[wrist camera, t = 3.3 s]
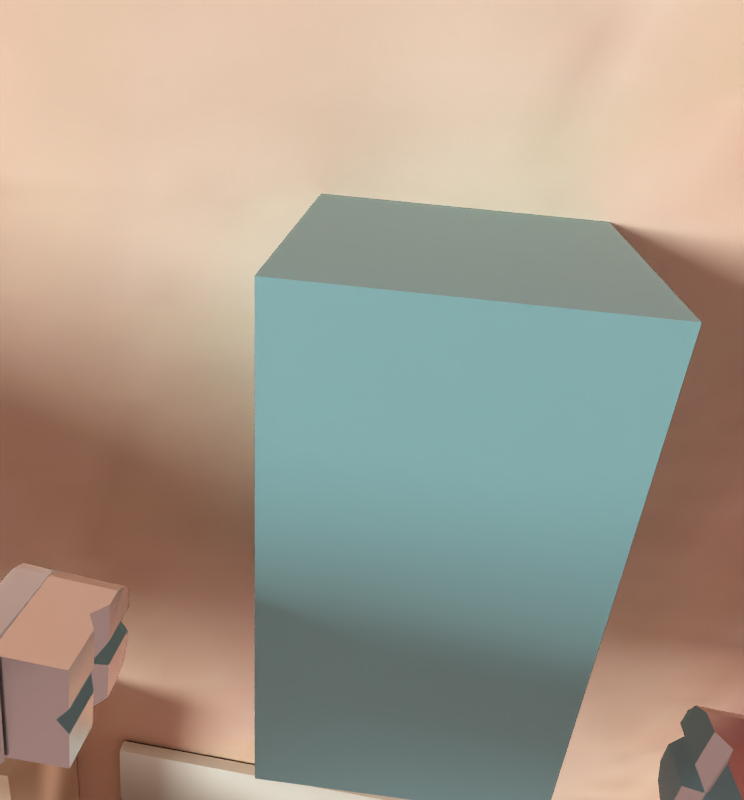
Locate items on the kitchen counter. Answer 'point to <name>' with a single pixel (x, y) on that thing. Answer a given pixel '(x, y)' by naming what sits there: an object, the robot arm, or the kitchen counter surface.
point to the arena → (162, 779)
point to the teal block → (446, 488)
